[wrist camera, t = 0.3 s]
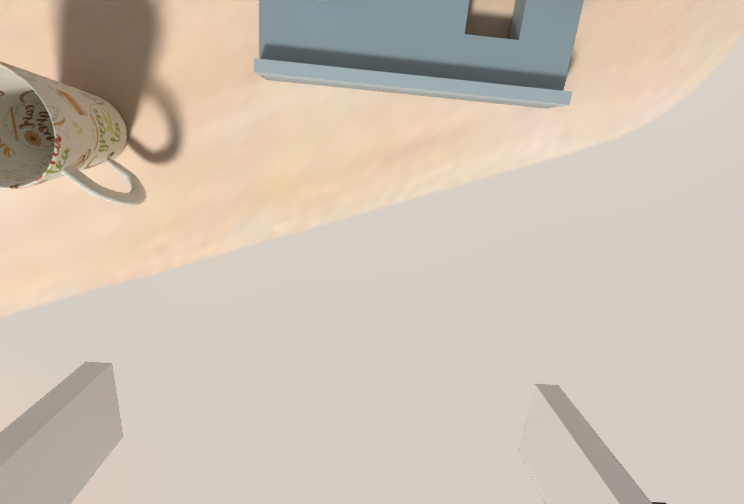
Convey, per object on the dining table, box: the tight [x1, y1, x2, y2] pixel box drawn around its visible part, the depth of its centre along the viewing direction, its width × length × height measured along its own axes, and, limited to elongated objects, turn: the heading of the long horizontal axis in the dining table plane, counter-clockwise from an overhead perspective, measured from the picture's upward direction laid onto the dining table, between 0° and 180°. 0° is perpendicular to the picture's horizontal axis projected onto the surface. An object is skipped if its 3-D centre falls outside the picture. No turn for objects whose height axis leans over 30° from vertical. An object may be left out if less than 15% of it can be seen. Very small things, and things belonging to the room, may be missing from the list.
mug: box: [0, 62, 146, 206], centre depth 30 cm, size 8×13×10 cm, turn 47°
